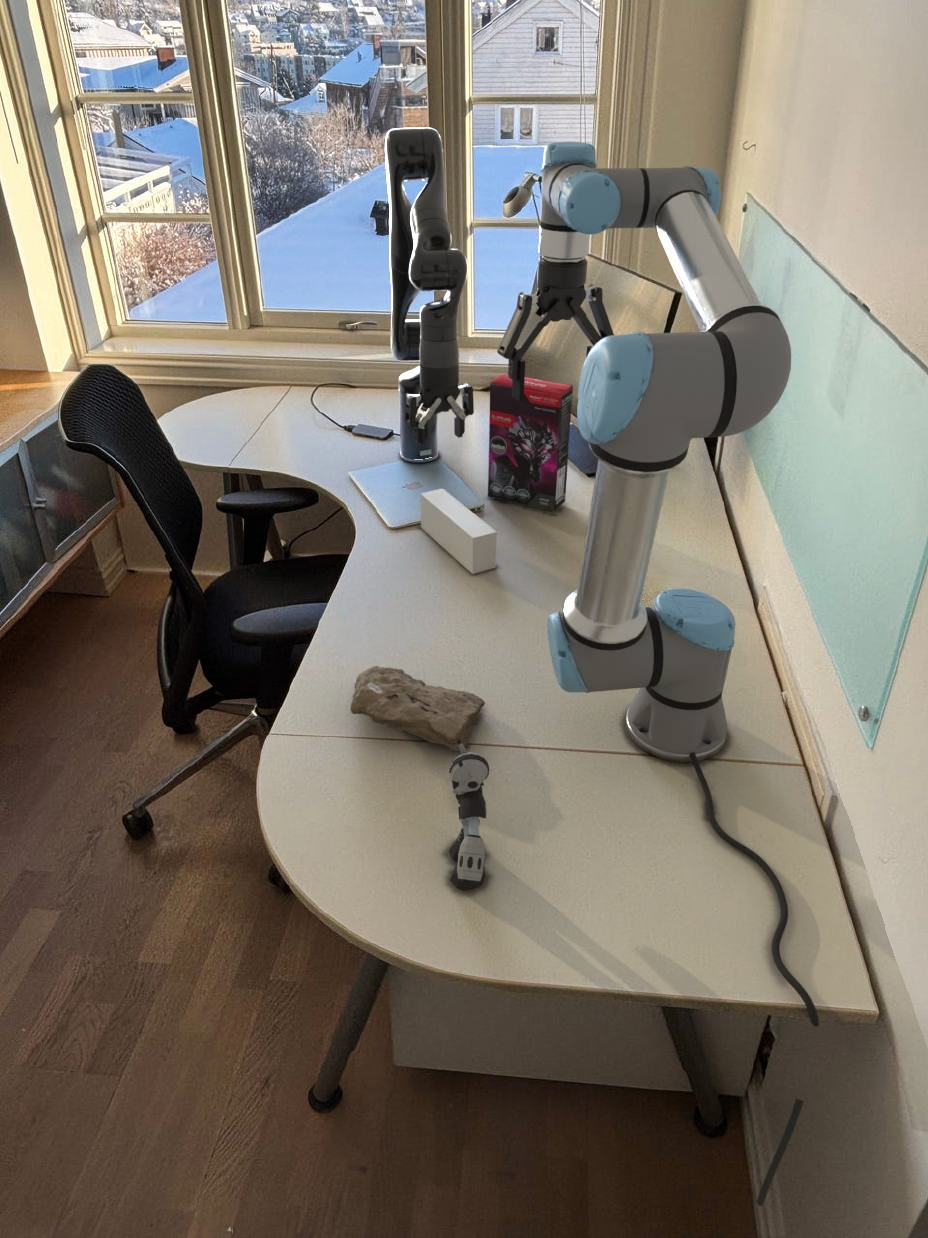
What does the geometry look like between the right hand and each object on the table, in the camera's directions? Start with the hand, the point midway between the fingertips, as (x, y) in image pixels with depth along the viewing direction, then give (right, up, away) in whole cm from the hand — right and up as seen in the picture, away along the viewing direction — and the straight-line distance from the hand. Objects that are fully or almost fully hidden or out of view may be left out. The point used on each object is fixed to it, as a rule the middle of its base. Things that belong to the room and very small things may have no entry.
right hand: (554, 393), depth 151 cm
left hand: (-20, -1, +33) cm, 39 cm away
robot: (-14, -69, -31) cm, 77 cm away
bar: (-16, -22, +39) cm, 48 cm away
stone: (-23, -53, -7) cm, 58 cm away
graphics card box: (-1, -10, +57) cm, 58 cm away
